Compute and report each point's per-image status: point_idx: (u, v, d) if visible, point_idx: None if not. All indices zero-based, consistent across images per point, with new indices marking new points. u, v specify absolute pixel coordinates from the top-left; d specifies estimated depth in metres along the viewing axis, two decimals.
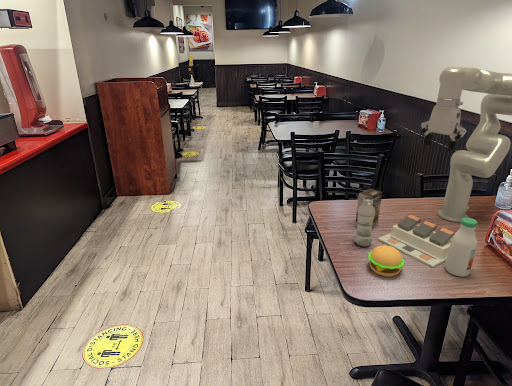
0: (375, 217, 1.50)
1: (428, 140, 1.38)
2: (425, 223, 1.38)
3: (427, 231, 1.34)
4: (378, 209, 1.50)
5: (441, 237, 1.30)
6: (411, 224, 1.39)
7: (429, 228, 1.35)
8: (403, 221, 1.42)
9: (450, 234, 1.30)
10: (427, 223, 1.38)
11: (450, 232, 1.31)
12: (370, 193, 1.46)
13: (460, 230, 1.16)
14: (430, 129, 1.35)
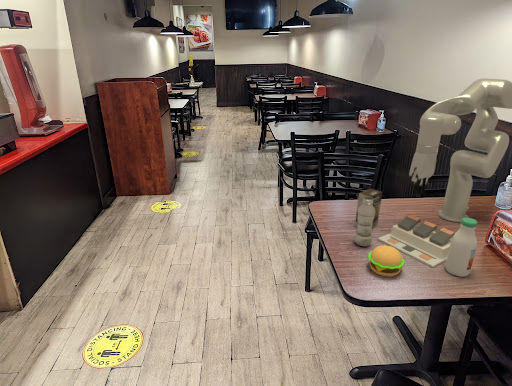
0: (375, 217, 1.50)
1: None
2: (425, 223, 1.38)
3: (427, 231, 1.34)
4: (378, 209, 1.50)
5: (441, 237, 1.30)
6: (411, 224, 1.39)
7: (429, 228, 1.35)
8: (403, 221, 1.42)
9: (450, 234, 1.30)
10: (427, 223, 1.38)
11: (450, 232, 1.31)
12: (370, 193, 1.46)
13: (460, 230, 1.16)
14: (421, 177, 1.32)
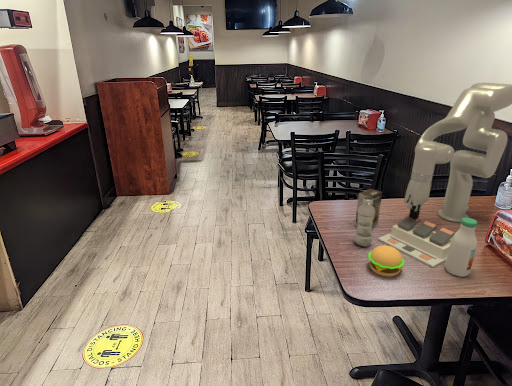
0: (375, 217, 1.50)
1: None
2: (425, 223, 1.38)
3: (427, 231, 1.34)
4: (378, 209, 1.50)
5: (441, 237, 1.30)
6: (411, 224, 1.39)
7: (429, 228, 1.35)
8: (403, 221, 1.42)
9: (450, 234, 1.30)
10: (427, 223, 1.38)
11: (450, 232, 1.31)
12: (370, 193, 1.46)
13: (460, 230, 1.16)
14: (416, 204, 1.36)
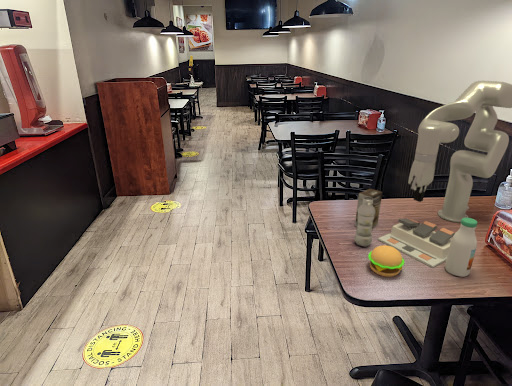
0: (375, 217, 1.50)
1: None
2: (425, 223, 1.38)
3: (427, 231, 1.34)
4: (378, 209, 1.50)
5: (441, 237, 1.30)
6: (412, 223, 1.39)
7: (429, 228, 1.35)
8: (404, 219, 1.42)
9: (450, 234, 1.30)
10: (427, 223, 1.38)
11: (450, 232, 1.31)
12: (370, 193, 1.46)
13: (460, 230, 1.16)
14: (420, 185, 1.33)
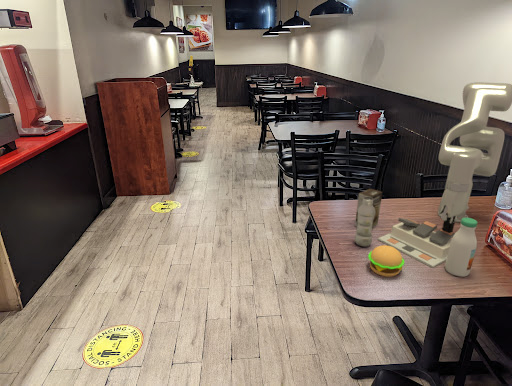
0: (375, 217, 1.50)
1: None
2: (425, 223, 1.38)
3: (427, 231, 1.34)
4: (378, 209, 1.50)
5: (441, 237, 1.30)
6: (412, 222, 1.39)
7: (429, 228, 1.35)
8: (404, 219, 1.42)
9: (450, 234, 1.30)
10: (427, 223, 1.38)
11: None
12: (370, 193, 1.46)
13: (460, 230, 1.16)
14: (451, 215, 1.25)
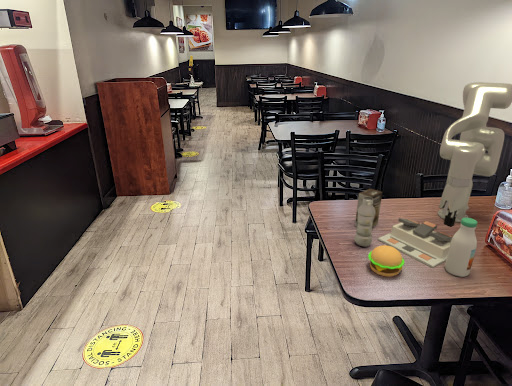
0: (375, 217, 1.50)
1: None
2: (425, 223, 1.38)
3: (427, 231, 1.34)
4: (378, 209, 1.50)
5: (442, 235, 1.29)
6: (412, 222, 1.39)
7: (429, 228, 1.35)
8: (404, 219, 1.42)
9: (450, 236, 1.30)
10: (427, 223, 1.38)
11: (450, 235, 1.31)
12: (370, 193, 1.46)
13: (460, 230, 1.16)
14: (453, 210, 1.25)
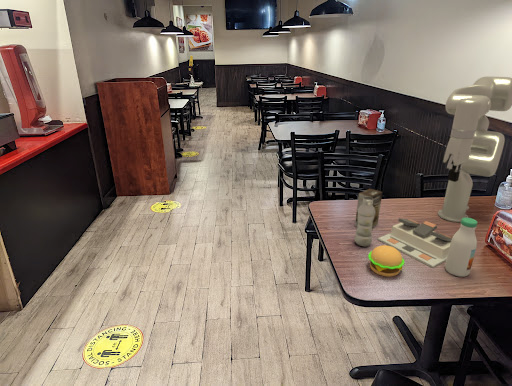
0: (375, 217, 1.50)
1: None
2: (425, 223, 1.38)
3: (427, 231, 1.34)
4: (378, 209, 1.50)
5: (442, 235, 1.29)
6: (412, 222, 1.39)
7: (429, 228, 1.35)
8: (404, 219, 1.42)
9: (449, 237, 1.31)
10: (427, 223, 1.38)
11: (449, 236, 1.31)
12: (370, 193, 1.46)
13: (460, 230, 1.16)
14: (457, 163, 1.26)
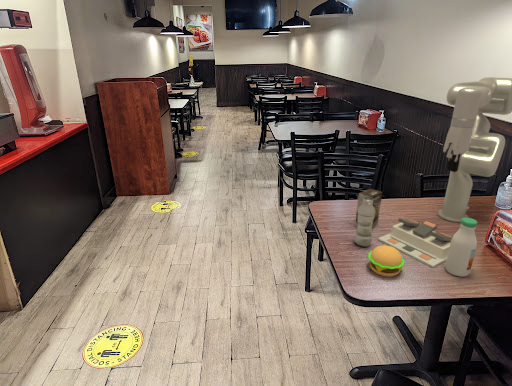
0: (375, 217, 1.50)
1: None
2: (425, 223, 1.38)
3: (427, 231, 1.34)
4: (378, 209, 1.50)
5: (442, 235, 1.29)
6: (412, 222, 1.39)
7: (429, 228, 1.35)
8: (404, 219, 1.42)
9: (450, 236, 1.31)
10: (427, 223, 1.38)
11: (450, 236, 1.31)
12: (370, 193, 1.46)
13: (460, 230, 1.16)
14: (457, 152, 1.27)
